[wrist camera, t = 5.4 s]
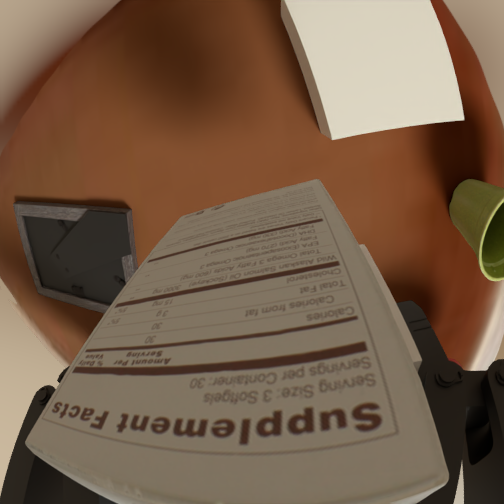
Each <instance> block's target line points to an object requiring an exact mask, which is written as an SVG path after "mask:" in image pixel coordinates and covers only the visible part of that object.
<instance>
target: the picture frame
mask: <svg viewBox="0 0 504 504" xmlns="http://www.w3.org/2000/svg"><path fill="white" fill-rule="evenodd" d="M13 206H14V211H15V216H16V220H17V225H18V229H19V233H20V237H21V241H22V245H23V248H24V252H25V255H26V258H27V262H28V265H29V268H30V271H31V274H32V277H33V280H34V283H35V286H36V288H37V291H38V294H41V295H44V296H47V297H50V298H53V299H56V300H59V301H63V302H66V303H69V304H73V305H76V306H79V307H83V308H87V309H90V310H94V311H98V312H101V313H106V311H107V310H108V308H109V307H110V306H111V304H112V303H113V302H114V300H115V299H116V297H117V296H118V295H119V293H120V292H121V291H122V289H123V288H124V286H125V285H126V284H127V282H128V281H129V280H130V278H131V277H132V276H133V275H134V273H135V272H136V271H137V269H138V265H137V257H136V249H135V240H134V231H133V220H132V209H124V208H113V207H101V206H88V205H74V204H59V203H43V202H25V201H17V202H15V203H14V204H13Z"/></svg>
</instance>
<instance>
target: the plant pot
mask: <svg viewBox="0 0 504 504" xmlns="http://www.w3.org/2000/svg"><path fill="white" fill-rule="evenodd" d="M449 212H450V217H451V220H452V222H453V224H454V225H455V226H456V227H457V229H458V230H459V231H460V232H461V234H462V235H463V236H464V238H465V239H466V240H467V242H468V243H469V244H470V246H471V247H472V249H473V250H474V251H475V253H476V256H477V258H478V262H479V266H480V269H481V271H482V273H483V274H484V275H485V276H486V277H487V278H488V279H490V280H492V281H500V280H503V279H504V188H500V187H497V186H494V185H491V184H488V183H485V182H482V181H479V180H475V179H468V180H465V181H463V182H462V183H460V184H459V185H458V186H457V187H456V189H455V190H454V193H453V198H452V201H451V203H450V206H449Z"/></svg>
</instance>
